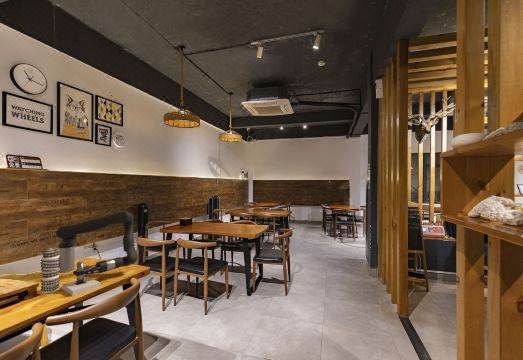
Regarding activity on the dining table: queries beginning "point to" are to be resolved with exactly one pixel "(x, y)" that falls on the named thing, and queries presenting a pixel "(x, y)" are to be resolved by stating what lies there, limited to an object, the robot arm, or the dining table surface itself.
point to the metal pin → (79, 268)
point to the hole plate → (80, 286)
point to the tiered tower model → (50, 270)
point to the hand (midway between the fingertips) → (74, 273)
